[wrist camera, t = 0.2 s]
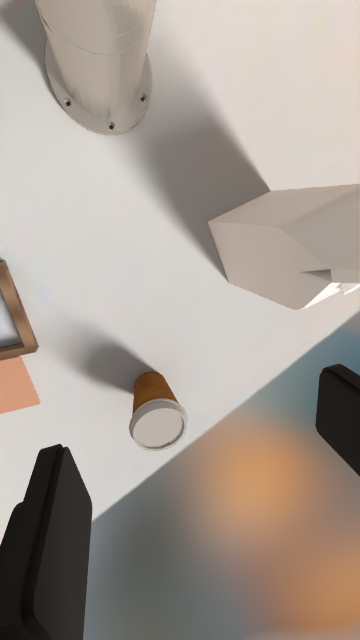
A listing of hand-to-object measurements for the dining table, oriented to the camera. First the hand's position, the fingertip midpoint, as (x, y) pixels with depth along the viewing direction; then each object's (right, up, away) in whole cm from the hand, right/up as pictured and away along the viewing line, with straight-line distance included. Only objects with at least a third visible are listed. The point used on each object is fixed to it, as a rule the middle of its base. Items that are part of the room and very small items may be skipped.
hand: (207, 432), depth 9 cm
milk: (+11, +18, +36) cm, 42 cm away
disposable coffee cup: (-7, -9, +42) cm, 44 cm away
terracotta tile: (-31, -7, +35) cm, 47 cm away
